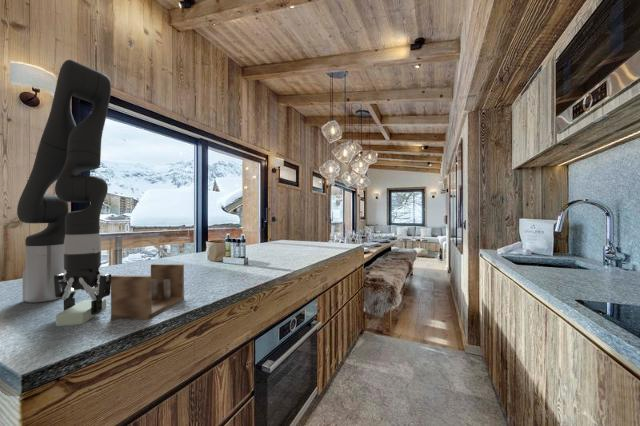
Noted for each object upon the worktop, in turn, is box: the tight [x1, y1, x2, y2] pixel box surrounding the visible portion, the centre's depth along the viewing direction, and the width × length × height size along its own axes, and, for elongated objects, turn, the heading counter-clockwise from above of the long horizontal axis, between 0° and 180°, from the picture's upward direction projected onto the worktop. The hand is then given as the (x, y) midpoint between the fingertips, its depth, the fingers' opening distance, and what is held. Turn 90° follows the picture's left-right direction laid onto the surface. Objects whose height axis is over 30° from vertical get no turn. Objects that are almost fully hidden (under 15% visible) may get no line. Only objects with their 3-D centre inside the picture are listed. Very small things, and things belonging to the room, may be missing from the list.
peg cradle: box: [110, 263, 185, 320], centre depth 81 cm, size 10×17×11 cm, turn 178°
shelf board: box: [55, 298, 107, 327], centre depth 75 cm, size 6×12×3 cm, turn 15°
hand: (83, 313), depth 75 cm, fingers open, 6 cm apart
